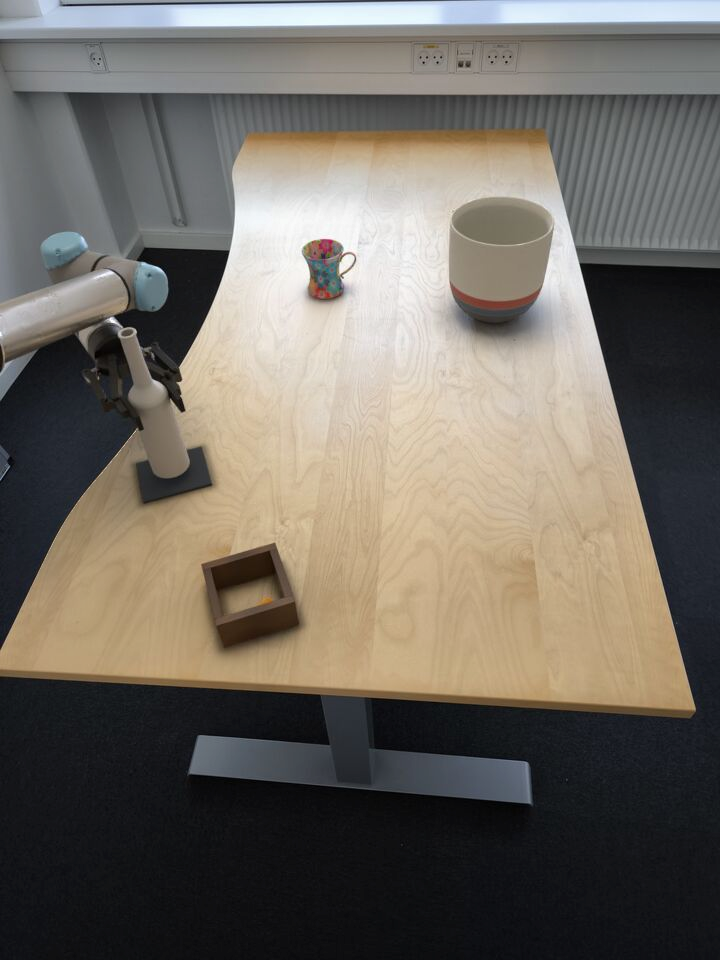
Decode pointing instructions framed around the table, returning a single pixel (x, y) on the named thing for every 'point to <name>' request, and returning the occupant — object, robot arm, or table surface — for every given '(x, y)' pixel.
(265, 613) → the holder
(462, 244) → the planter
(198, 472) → the mat
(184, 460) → the bottle
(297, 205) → the table surface
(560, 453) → the table surface
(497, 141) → the table surface
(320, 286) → the mug
